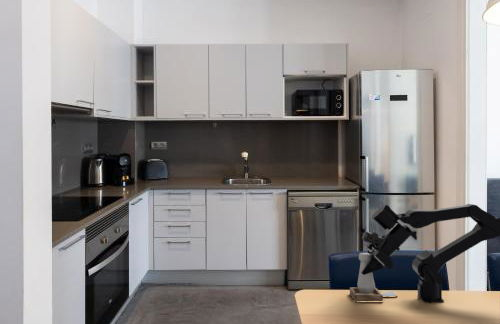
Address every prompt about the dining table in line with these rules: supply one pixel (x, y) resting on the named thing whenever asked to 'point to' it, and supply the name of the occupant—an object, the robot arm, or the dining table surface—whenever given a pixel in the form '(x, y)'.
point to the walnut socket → (366, 295)
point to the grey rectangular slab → (389, 294)
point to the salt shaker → (365, 276)
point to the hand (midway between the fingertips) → (361, 272)
